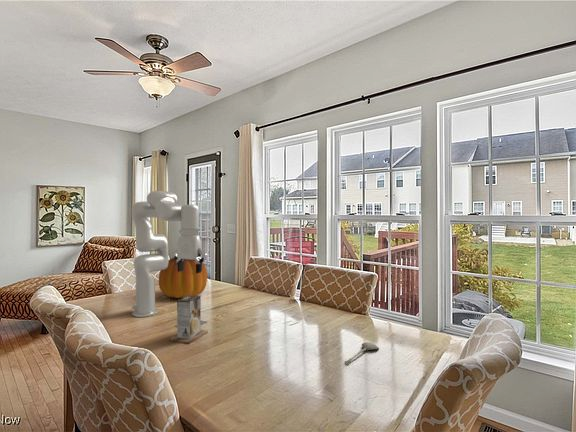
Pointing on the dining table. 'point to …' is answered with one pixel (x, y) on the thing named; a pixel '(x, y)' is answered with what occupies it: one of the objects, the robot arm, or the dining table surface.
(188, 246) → the robot arm
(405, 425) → the dining table surface
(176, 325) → the color patch mat
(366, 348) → the soupspoon
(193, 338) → the walnut pad
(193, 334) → the coffee box
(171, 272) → the decorative pumpkin
